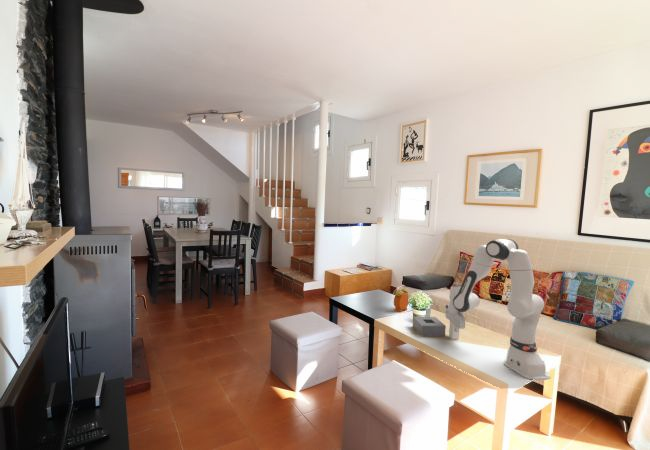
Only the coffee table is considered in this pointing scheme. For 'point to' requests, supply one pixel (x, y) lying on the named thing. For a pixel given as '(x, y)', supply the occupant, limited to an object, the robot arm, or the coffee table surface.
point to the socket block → (429, 326)
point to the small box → (428, 312)
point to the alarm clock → (401, 300)
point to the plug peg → (453, 331)
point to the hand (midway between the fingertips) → (454, 329)
